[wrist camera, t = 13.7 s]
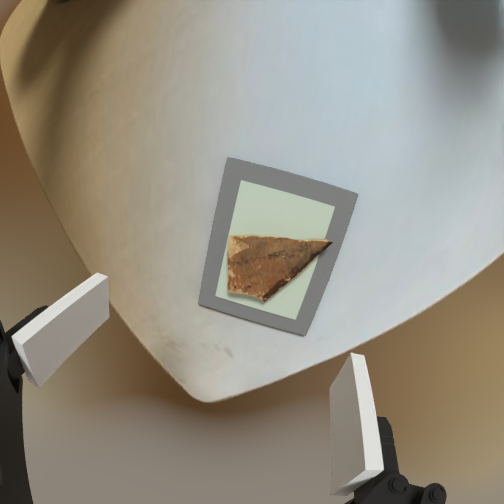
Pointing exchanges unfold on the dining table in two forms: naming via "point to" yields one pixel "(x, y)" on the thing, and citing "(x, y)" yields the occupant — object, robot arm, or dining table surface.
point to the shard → (268, 262)
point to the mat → (276, 225)
